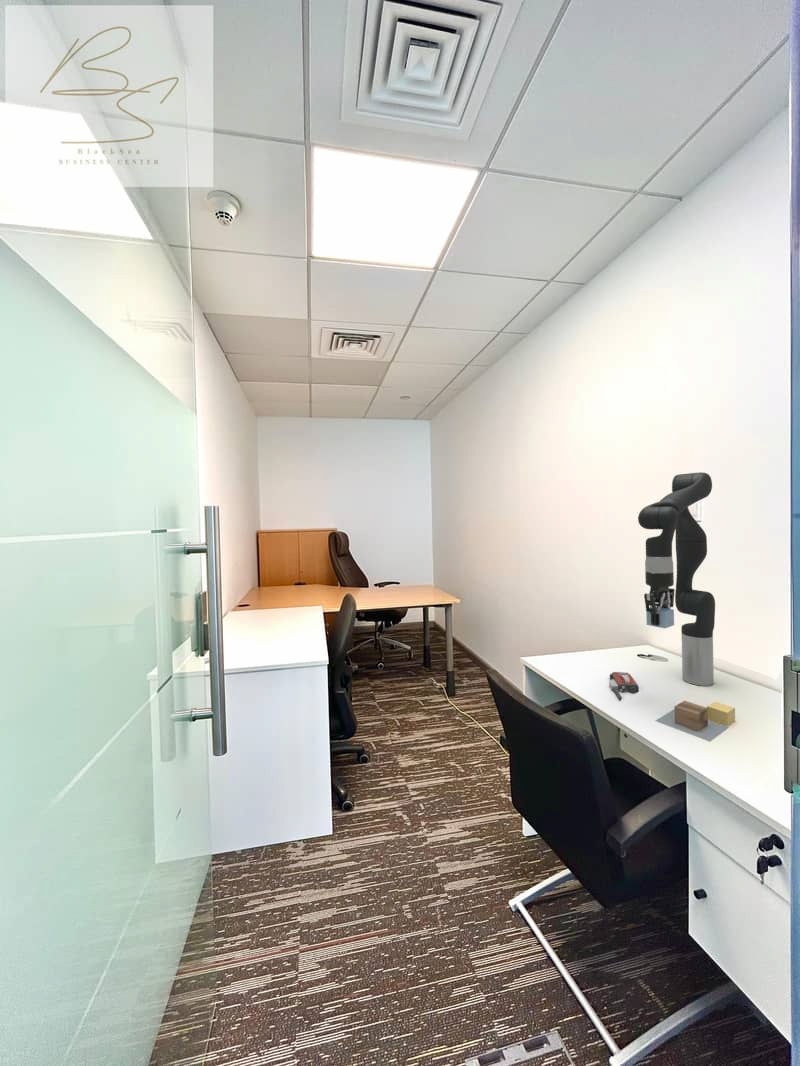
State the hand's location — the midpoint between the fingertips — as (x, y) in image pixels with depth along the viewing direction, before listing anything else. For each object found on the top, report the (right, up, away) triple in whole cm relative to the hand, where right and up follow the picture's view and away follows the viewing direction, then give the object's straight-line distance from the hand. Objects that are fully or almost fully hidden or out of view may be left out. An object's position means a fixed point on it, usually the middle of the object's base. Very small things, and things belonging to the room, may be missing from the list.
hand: (660, 623), depth 130 cm
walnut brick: (+2, -27, -11) cm, 29 cm away
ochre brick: (+12, -27, -9) cm, 31 cm away
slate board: (+2, -28, -11) cm, 30 cm away
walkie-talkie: (-3, -28, +16) cm, 32 cm away
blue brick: (0, -1, 0) cm, 1 cm away
